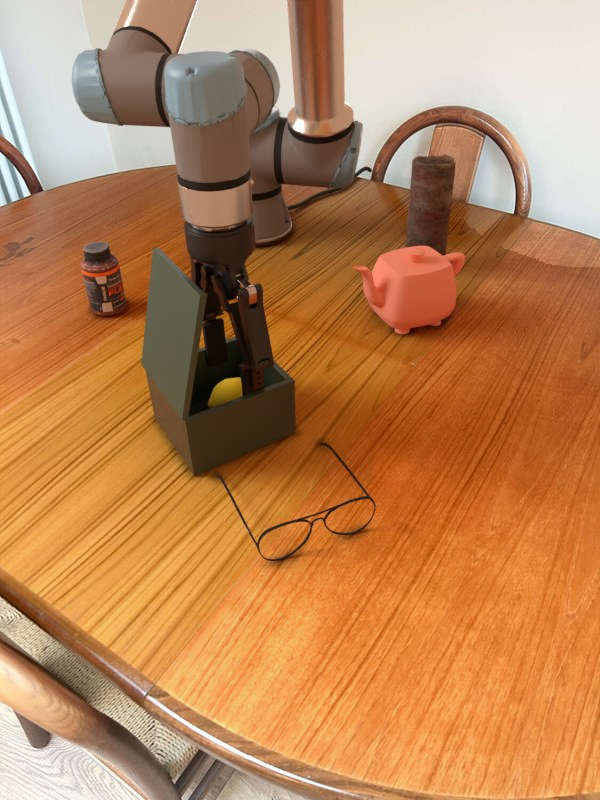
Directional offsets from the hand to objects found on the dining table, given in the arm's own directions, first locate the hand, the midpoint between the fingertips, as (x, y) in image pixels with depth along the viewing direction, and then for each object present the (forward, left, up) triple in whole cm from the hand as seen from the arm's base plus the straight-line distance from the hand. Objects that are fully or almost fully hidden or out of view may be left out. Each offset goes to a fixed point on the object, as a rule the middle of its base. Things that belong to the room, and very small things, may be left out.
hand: (235, 382), depth 84 cm
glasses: (+1, +16, -7) cm, 17 cm away
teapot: (-35, -8, -7) cm, 36 cm away
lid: (+7, 0, +10) cm, 12 cm away
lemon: (0, -1, -6) cm, 6 cm away
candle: (-49, -20, -7) cm, 53 cm away
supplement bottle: (+5, -37, -7) cm, 38 cm away
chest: (+2, 0, -6) cm, 7 cm away
